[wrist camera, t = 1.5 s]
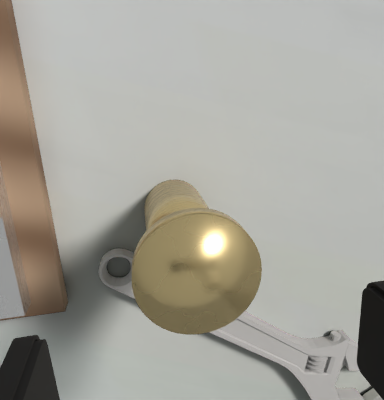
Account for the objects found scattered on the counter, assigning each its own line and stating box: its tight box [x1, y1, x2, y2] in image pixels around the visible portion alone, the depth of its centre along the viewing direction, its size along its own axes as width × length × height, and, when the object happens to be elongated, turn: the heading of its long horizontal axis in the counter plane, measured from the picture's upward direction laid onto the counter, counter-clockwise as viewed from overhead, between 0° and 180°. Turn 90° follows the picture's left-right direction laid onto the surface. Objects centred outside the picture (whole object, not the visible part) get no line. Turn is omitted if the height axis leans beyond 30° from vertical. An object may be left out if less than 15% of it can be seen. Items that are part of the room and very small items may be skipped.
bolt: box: [132, 180, 262, 334], centre depth 20 cm, size 6×6×10 cm
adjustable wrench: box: [99, 248, 364, 400], centre depth 28 cm, size 25×6×2 cm, turn 53°
